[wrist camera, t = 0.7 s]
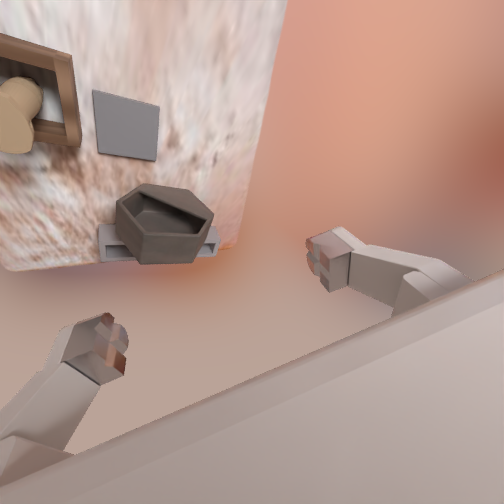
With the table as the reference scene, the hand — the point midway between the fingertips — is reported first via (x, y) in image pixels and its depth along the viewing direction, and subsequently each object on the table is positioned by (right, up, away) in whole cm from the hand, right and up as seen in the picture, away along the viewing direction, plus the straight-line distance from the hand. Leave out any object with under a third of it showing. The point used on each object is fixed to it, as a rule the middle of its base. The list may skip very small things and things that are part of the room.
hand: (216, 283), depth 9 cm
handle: (-32, +26, +25) cm, 48 cm away
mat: (-22, +24, +33) cm, 46 cm away
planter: (-20, +14, +46) cm, 52 cm away
